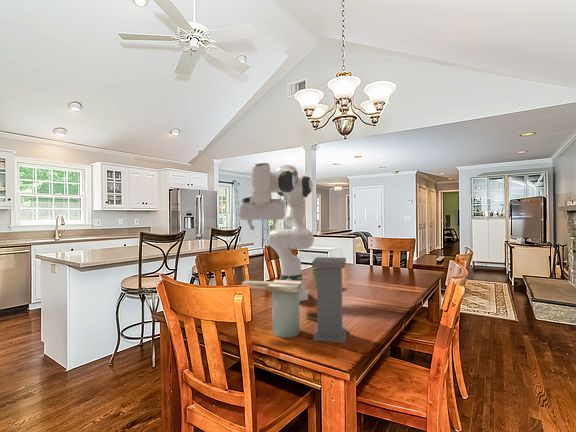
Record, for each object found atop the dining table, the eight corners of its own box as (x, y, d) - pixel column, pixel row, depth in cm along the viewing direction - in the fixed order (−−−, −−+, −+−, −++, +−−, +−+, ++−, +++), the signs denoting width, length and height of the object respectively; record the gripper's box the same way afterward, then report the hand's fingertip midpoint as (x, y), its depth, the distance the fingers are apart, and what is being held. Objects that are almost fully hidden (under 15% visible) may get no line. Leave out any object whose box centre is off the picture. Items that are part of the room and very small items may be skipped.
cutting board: (248, 283, 137) (248, 278, 137) (302, 285, 132) (302, 280, 132) (238, 290, 126) (238, 285, 126) (296, 292, 120) (296, 287, 120)
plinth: (317, 328, 131) (316, 257, 130) (346, 330, 128) (345, 257, 128) (313, 340, 119) (312, 262, 119) (345, 343, 116) (344, 262, 116)
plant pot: (309, 285, 204) (309, 268, 204) (327, 284, 207) (327, 267, 206) (314, 290, 193) (314, 272, 193) (333, 289, 195) (332, 271, 195)
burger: (304, 320, 141) (304, 310, 141) (308, 313, 150) (308, 304, 150) (325, 322, 139) (325, 311, 138) (329, 315, 147) (329, 305, 147)
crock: (276, 326, 134) (276, 284, 134) (302, 328, 132) (301, 285, 132) (269, 336, 124) (268, 291, 123) (296, 338, 121) (296, 292, 121)
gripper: (285, 198, 141) (286, 229, 141) (243, 199, 146) (243, 229, 146) (282, 198, 135) (283, 230, 135) (237, 199, 139) (238, 230, 140)
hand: (262, 229), depth 141 cm, fingers open, 8 cm apart
